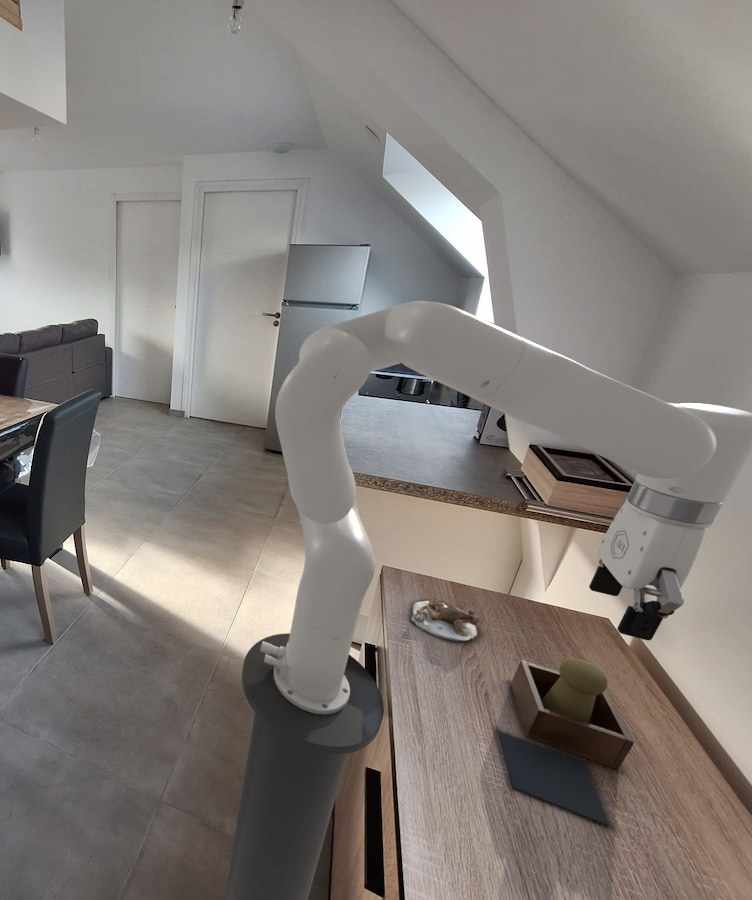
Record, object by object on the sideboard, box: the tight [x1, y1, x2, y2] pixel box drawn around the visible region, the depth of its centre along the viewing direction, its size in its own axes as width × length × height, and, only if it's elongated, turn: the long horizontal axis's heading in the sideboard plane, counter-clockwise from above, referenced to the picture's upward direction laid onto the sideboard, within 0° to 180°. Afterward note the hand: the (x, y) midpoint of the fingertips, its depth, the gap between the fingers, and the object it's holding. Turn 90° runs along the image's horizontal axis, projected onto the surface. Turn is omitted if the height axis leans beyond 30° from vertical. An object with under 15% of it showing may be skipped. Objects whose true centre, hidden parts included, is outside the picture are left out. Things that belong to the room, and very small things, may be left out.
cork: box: [541, 657, 609, 723], centre depth 68 cm, size 6×6×11 cm
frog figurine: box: [410, 597, 481, 642], centre depth 91 cm, size 12×12×4 cm
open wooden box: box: [510, 659, 635, 770], centre depth 69 cm, size 11×11×6 cm
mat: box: [498, 731, 610, 827], centre depth 63 cm, size 10×9×1 cm
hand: (617, 612), depth 63 cm, fingers open, 9 cm apart
